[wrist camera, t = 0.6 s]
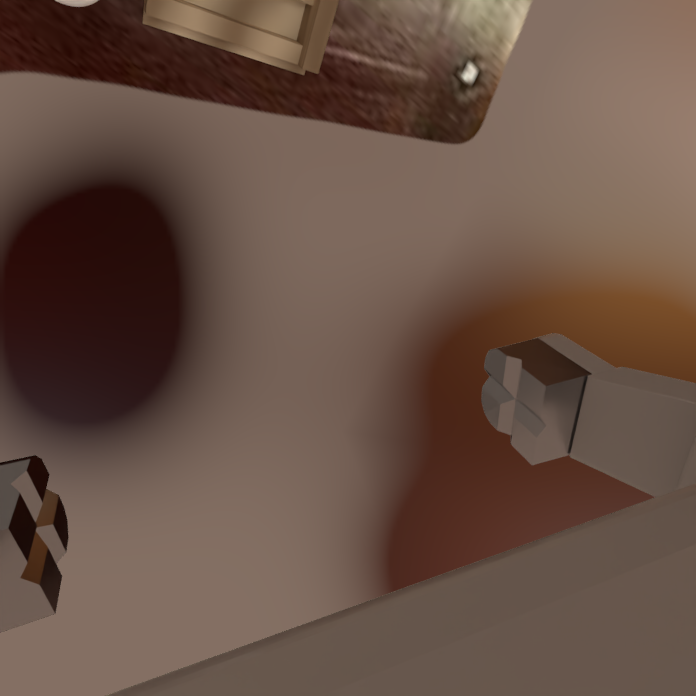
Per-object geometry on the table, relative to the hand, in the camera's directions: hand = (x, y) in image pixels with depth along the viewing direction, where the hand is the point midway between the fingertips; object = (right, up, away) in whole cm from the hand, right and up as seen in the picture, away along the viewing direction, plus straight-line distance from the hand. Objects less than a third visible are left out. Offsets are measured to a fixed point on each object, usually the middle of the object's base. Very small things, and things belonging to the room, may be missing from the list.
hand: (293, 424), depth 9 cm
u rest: (-8, +31, +32) cm, 45 cm away
